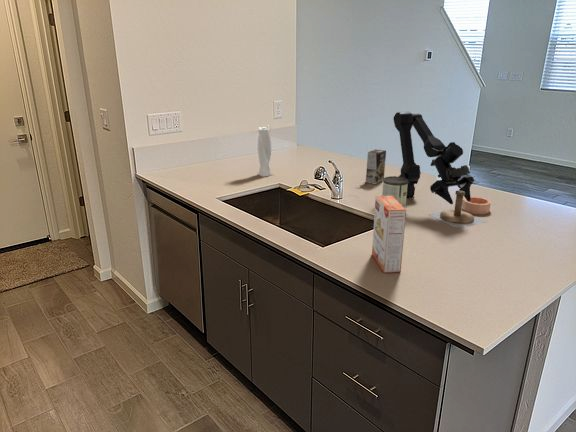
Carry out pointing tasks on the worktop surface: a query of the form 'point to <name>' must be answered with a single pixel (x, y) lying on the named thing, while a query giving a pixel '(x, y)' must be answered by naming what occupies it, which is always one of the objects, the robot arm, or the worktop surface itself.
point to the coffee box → (375, 166)
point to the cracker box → (388, 233)
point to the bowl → (476, 205)
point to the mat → (476, 221)
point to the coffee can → (396, 188)
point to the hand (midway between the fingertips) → (461, 202)
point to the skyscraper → (264, 151)
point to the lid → (457, 212)
